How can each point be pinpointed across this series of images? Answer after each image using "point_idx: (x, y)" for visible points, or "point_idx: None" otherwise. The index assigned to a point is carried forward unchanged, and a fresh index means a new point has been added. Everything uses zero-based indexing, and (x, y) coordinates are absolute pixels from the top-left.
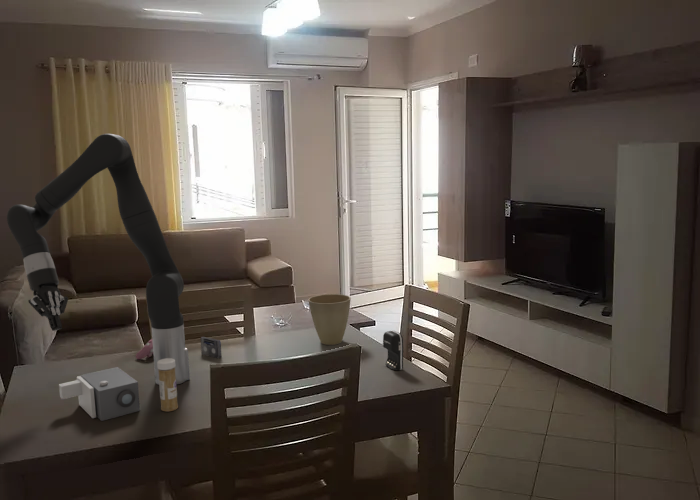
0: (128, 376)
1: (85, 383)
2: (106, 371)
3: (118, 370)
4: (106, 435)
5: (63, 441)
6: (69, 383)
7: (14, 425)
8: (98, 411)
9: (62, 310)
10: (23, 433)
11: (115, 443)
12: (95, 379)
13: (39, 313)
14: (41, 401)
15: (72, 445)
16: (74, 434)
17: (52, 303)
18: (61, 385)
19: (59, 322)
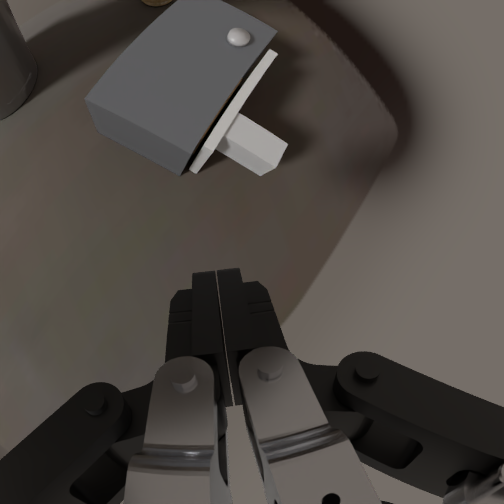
0: (161, 19)
1: (252, 84)
2: (134, 97)
3: (117, 70)
4: (291, 35)
5: (335, 87)
6: (259, 139)
7: (330, 228)
8: (248, 70)
9: (101, 404)
10: (345, 178)
11: (304, 16)
12: (211, 80)
13: (379, 424)
14: None
15: (337, 67)
16: (312, 84)
17: (323, 484)
18: (280, 150)
19: (205, 298)
